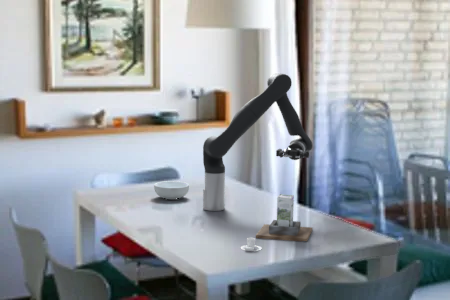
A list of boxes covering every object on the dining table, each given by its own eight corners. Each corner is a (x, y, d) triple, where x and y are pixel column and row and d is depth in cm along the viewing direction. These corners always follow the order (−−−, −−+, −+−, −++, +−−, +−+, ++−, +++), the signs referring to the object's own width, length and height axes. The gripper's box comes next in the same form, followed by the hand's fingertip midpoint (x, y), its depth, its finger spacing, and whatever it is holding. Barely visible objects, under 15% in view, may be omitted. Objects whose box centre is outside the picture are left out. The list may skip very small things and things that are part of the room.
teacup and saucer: (251, 254, 264) (251, 243, 263) (234, 249, 269) (234, 239, 268) (266, 249, 270) (266, 238, 270) (249, 245, 275) (249, 234, 275)
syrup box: (293, 229, 292) (294, 194, 290) (290, 233, 287) (291, 197, 284) (279, 228, 294) (280, 193, 292) (276, 232, 288) (277, 196, 286)
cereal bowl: (150, 201, 348) (150, 186, 347) (159, 194, 364) (159, 180, 363) (184, 202, 345) (184, 188, 344) (192, 195, 362) (192, 181, 361)
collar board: (255, 238, 284) (256, 227, 283) (264, 227, 301) (264, 217, 301) (306, 241, 279) (307, 231, 279) (312, 230, 297) (312, 220, 296)
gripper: (280, 141, 327) (274, 146, 312) (312, 142, 324) (307, 147, 309) (280, 157, 329) (274, 163, 313) (311, 159, 325) (307, 165, 310)
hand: (290, 155), depth 311 cm, fingers open, 8 cm apart
